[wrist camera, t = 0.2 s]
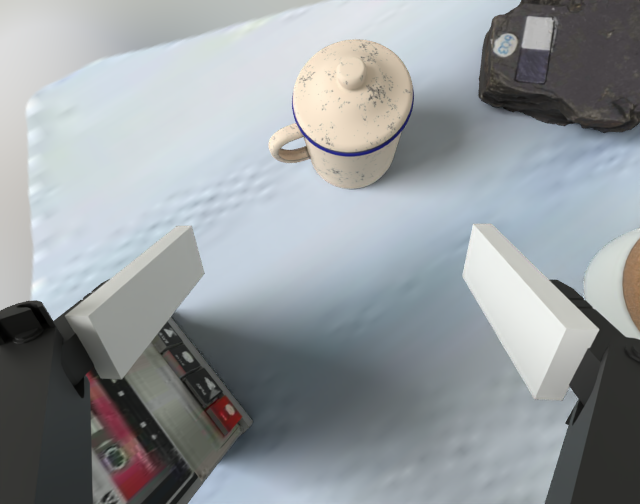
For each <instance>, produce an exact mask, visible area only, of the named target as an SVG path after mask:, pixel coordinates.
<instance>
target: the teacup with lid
mask: <svg viewBox="0 0 640 504" xmlns="http://www.w3.org/2000/svg"><path fill="white" fill-rule="evenodd" d="M413 101H414V91H413V85H412V81H411V77H410V74H409V72H408V70H407V68H406V66H405V65H404V63H403V62H402V61H401V59H400V58H399V57H398V56H397V55H396V54H395V53H394V52H392V51H391V50H390V49H388V48H386V47H385V46H383V45H381V44H378V43H375V42H372V41H367V40H345V41H341V42H337V43H334V44H331V45H329V46H327V47H325V48H323V49H322V50H320V51H319V52H317V53H316V54H315V55H314V56H313V57H312V58H311V59H310V60H309V61H308V62H307V63H306V64H305V66H304V67H303V68H302V70H301V72H300V74H299V75H298V78H297V80H296V83H295V86H294V91H293V97H292V109H293V115H294V118H295V121H296V123H294V124H292V125H289V126H286V127H284V128H282V129H280V130H278V131H277V132H276V133H275V134H274V135H273V136H272V137H271V138H270V140H269V149H270V152H271V155H272V156H273V157H274V158H275V159H276V160H278V161H280V162H284V163H297V162H301V161H305V160H308V159H311V161H312V164H313V166H314V168H315V170H316V171H317V173H318V174H319V175H320V176H321V177H322V178H323V179H324V180H325V181H327V182H328V183H330V184H332V185H334V186H337V187H340V188H346V189H355V188H361V187H365V186H368V185H370V184H372V183H374V182H375V181H377V180H378V179H379V178H381V177H382V176H383V175H384V174H385V172H386V171H387V170H388V168H389V167H390V165H391V163H392V161H393V158H394V154H395V151H396V148H397V145H398V142H399V139H400V135H401V132H402V130H403V129H404V127H405V125H406V124H407V122H408V120H409V117H410V115H411V112H412V108H413ZM302 137H304V139H305V143H306V146H305V147H302V148H298V149H294V150H285V149H281V147H282V146H284V145H285V144H287V143H289V142H291V141H293V140H296V139H299V138H302Z"/></svg>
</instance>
